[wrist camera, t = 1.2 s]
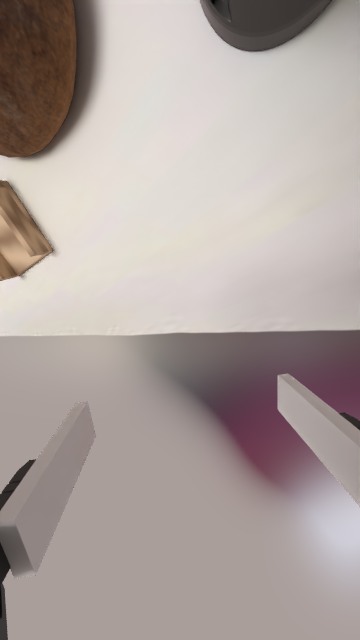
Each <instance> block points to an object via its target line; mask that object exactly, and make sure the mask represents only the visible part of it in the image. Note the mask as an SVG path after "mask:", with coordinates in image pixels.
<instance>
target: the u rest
mask: <svg viewBox="0 0 360 640" xmlns="http://www.w3.org/2000/svg"><path fill="white" fill-rule="evenodd" d="M52 251H53V250H52V248H51V247H50V245H49V244H48V242H47V241H46V239H45V238H44V236H43V235H42V233H41V232H40V230H39V229H38V227H37V226H36V224H35V223H34V221H33V220H32V218H31V217H30V215H29V214H28V212H27V211H26V209H25V208H24V206H23V205H22V203H21V202H20V200H19V199H18V197H17V196H16V194H15V193H14V191H13V190H12V188H11V187H10V185H9V184H8V182H7V181H1V180H0V281H2V280H6V279H10V278H13V277H17V276H20V275H21V274H22V273H24V272H25V271H26V270H28V269H29V268H30V267H32V266H33V265H34V264H36V263H37V262H38V261H40V260H41V259H42V258H44V257H45V256H46V255H48V254H49V253H50V252H52Z"/></svg>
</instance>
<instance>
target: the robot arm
mask: <svg viewBox="0 0 360 640" xmlns="http://www.w3.org/2000/svg"><path fill="white" fill-rule="evenodd" d="M330 2H331V0H200V3H201V6H202V9H203V11H204V13H205V16H206V18H207V19H208V21H209V23H210V25H211V26H212V28H213V29H214V30H215V32H216V33H217V34H218V35H219V36H220V37H221V38H222V39H223V40H224V41H226V42H227V43H229V44H230V45H232V46H234V47H237V48H239V49H243V50H249V51H257V50H265V49H269V48H272V47H275V46H277V45H280V44H282V43H284V42H286V41H287V40H289V39H291V38H292V37H294V36H295V35H297V34H298V33H299V32H301V31H302V30H303V29H305V28H306V27H307V26H308V25H309V24H310V23H311V22H312V21H313V20H314V19H315V18H316V17H317V16H318V15H319V14H320V13H321V12H322V11H323V10H324V9H325V8H326V6H327V5H328V4H329V3H330ZM278 410H279V411H280V413H281V414H282V415H283V416H284V417H285V419H286V420H287V421H288V422H289V423H290V425H291V426H292V427H293V428H294V429H295V430H296V431H297V433H298V434H299V435H300V436H301V438H302V439H303V440H304V441H305V442H306V444H307V445H308V446H309V447H310V448H311V449H312V451H313V452H314V453H315V454H316V455H317V456H318V458H319V459H320V460H321V461H322V463H323V464H324V465H325V466H326V467H327V468H328V470H329V471H330V472H331V473H332V474H333V476H334V477H335V478H336V479H337V480H338V481H339V483H340V484H341V485H342V486H343V487H344V489H345V490H346V491H347V492H348V493H349V495H350V496H351V497H352V498H353V499H354V500H355V502H356V503H357V504H358V505H359V506H360V421H359V420H358V419H356V418H354V417H352V416H350V415H348V414H346V413H337V412H336V411H335V410H333V409H332V408H331V407H330V406H328V405H327V404H326V403H325V402H323V401H322V400H321V399H320V398H318V397H317V396H316V395H315V394H313V393H312V392H311V391H310V390H308V389H307V388H306V387H304V386H303V385H302V384H301V383H299V382H298V381H297V380H296V379H294V378H293V377H292V376H291V375H289V374H283V375H278ZM95 437H96V434H95V430H94V426H93V422H92V418H91V413H90V409H89V405H88V402H80V403H76V404H75V405H74V407H73V408H72V410H71V411H70V412H69V414H68V415H67V417H66V418H65V420H64V421H63V422H62V424H61V425H60V427H59V428H58V429H57V431H56V432H55V434H54V435H53V437H52V438H51V439H50V441H49V442H48V444H47V445H46V447H45V448H44V450H43V451H42V452H41V454H40V455H39V457H38V458H37V459H35V460H29V461H28V462H27V463H26V464H25V465H24V466H23V467H21V468H20V469H19V470H18V471H17V472H16V474H15V475H14V477H13V478H12V479H11V480H10V482H9V484H8V485H7V486H6V487H5V489H4V490H3V491H2V494H0V640H8V637H7V620H6V605H5V589H4V586H3V584H2V582H3V580H4V578H5V577H6V574H7V573H8V571H9V569H11V571H12V574H13V576H14V578H15V579H17V578H22V577H28V576H33V575H36V573H37V571H38V569H39V567H40V564H41V562H42V559H43V557H44V555H45V553H46V550H47V548H48V545H49V543H50V541H51V539H52V536H53V534H54V532H55V530H56V527H57V525H58V523H59V520H60V518H61V516H62V513H63V511H64V509H65V506H66V504H67V502H68V500H69V497H70V495H71V493H72V490H73V488H74V485H75V483H76V481H77V479H78V476H79V474H80V472H81V469H82V467H83V465H84V463H85V460H86V458H87V456H88V453H89V451H90V449H91V446H92V444H93V442H94V439H95Z"/></svg>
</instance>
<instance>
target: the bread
mask: <svg viewBox="0 0 360 640" xmlns="http://www.w3.org/2000/svg"><path fill="white" fill-rule="evenodd" d="M76 40H77V39H76V27H75V15H74V5H73V0H0V155H3V156H7V157H25V156H29V155H32V154H34V153H36V152H38V151H41V150H43V149H44V148H45V147H46V146H47V144H48V143H49V142H50V141H51V140H52V139H53V137H54V136H55V134H56V133H57V131H58V130H59V128H60V127H61V125H62V123H63V121H64V119H65V118H66V116H67V113H68V110H69V107H70V104H71V100H72V97H73V92H74V82H75V72H76Z"/></svg>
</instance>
